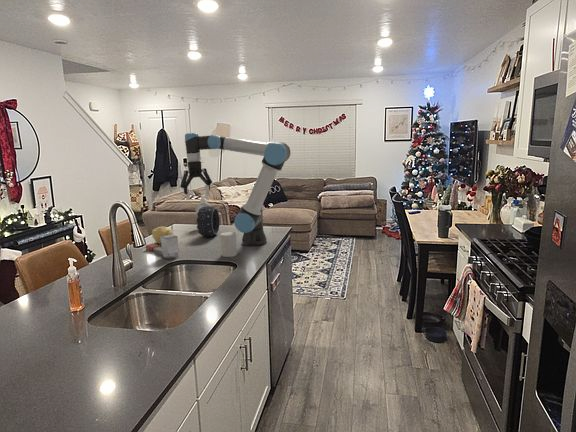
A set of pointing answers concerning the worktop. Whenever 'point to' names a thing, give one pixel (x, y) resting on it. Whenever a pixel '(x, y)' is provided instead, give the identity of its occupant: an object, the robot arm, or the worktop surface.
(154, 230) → the sculpture
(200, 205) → the soap bottle
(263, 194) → the robot arm
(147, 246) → the ratchet
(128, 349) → the worktop surface
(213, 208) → the ring
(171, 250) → the frosted translucent cube
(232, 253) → the cup
